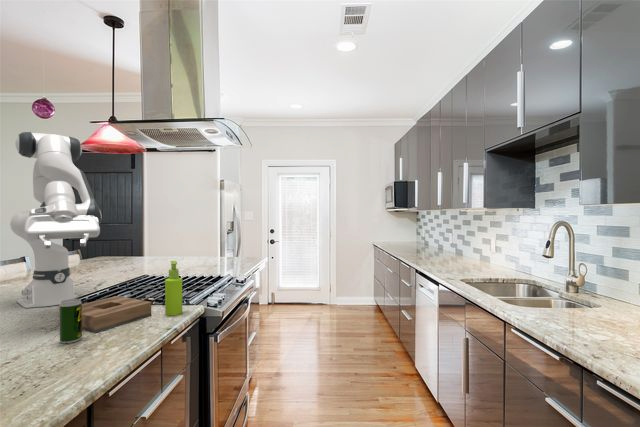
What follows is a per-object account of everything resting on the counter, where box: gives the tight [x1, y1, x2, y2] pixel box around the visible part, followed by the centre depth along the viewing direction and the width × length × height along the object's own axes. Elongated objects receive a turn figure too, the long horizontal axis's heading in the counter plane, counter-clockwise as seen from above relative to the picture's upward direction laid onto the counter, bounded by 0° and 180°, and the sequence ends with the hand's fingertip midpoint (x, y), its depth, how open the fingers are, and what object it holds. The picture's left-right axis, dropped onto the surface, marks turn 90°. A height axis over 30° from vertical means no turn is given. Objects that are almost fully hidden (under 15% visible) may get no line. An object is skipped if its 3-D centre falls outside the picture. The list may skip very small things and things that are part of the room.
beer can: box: [58, 298, 83, 344], centre depth 101 cm, size 5×5×12 cm
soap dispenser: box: [164, 260, 183, 317], centre depth 127 cm, size 6×7×20 cm
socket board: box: [82, 295, 152, 334], centre depth 121 cm, size 20×20×5 cm
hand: (65, 246), depth 110 cm, fingers open, 8 cm apart
